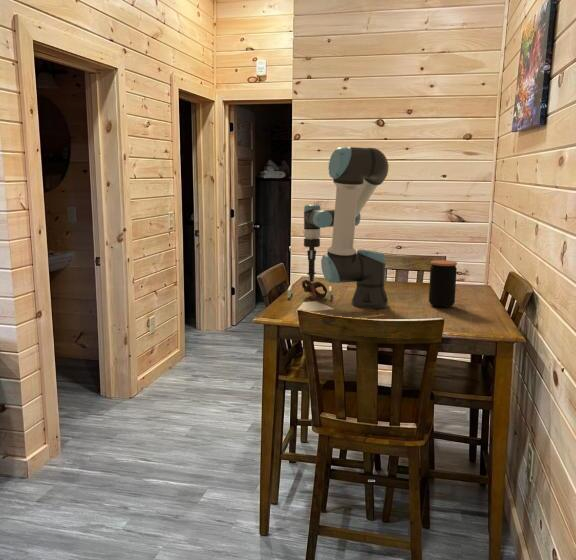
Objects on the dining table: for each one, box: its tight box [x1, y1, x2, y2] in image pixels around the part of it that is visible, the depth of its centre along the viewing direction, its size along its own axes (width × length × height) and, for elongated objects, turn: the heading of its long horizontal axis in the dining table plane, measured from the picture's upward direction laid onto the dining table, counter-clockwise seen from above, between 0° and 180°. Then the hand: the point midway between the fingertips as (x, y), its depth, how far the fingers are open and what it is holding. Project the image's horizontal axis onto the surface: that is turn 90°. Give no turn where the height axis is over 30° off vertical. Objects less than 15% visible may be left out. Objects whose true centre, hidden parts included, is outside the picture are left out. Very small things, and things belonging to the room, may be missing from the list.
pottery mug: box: [301, 279, 328, 301], centre depth 242 cm, size 12×9×8 cm
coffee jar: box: [428, 259, 458, 308], centre depth 229 cm, size 11×11×18 cm
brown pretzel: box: [287, 284, 332, 301], centre depth 245 cm, size 12×19×4 cm, turn 85°
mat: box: [296, 300, 334, 313], centre depth 225 cm, size 16×16×1 cm
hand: (311, 288), depth 258 cm, fingers closed
